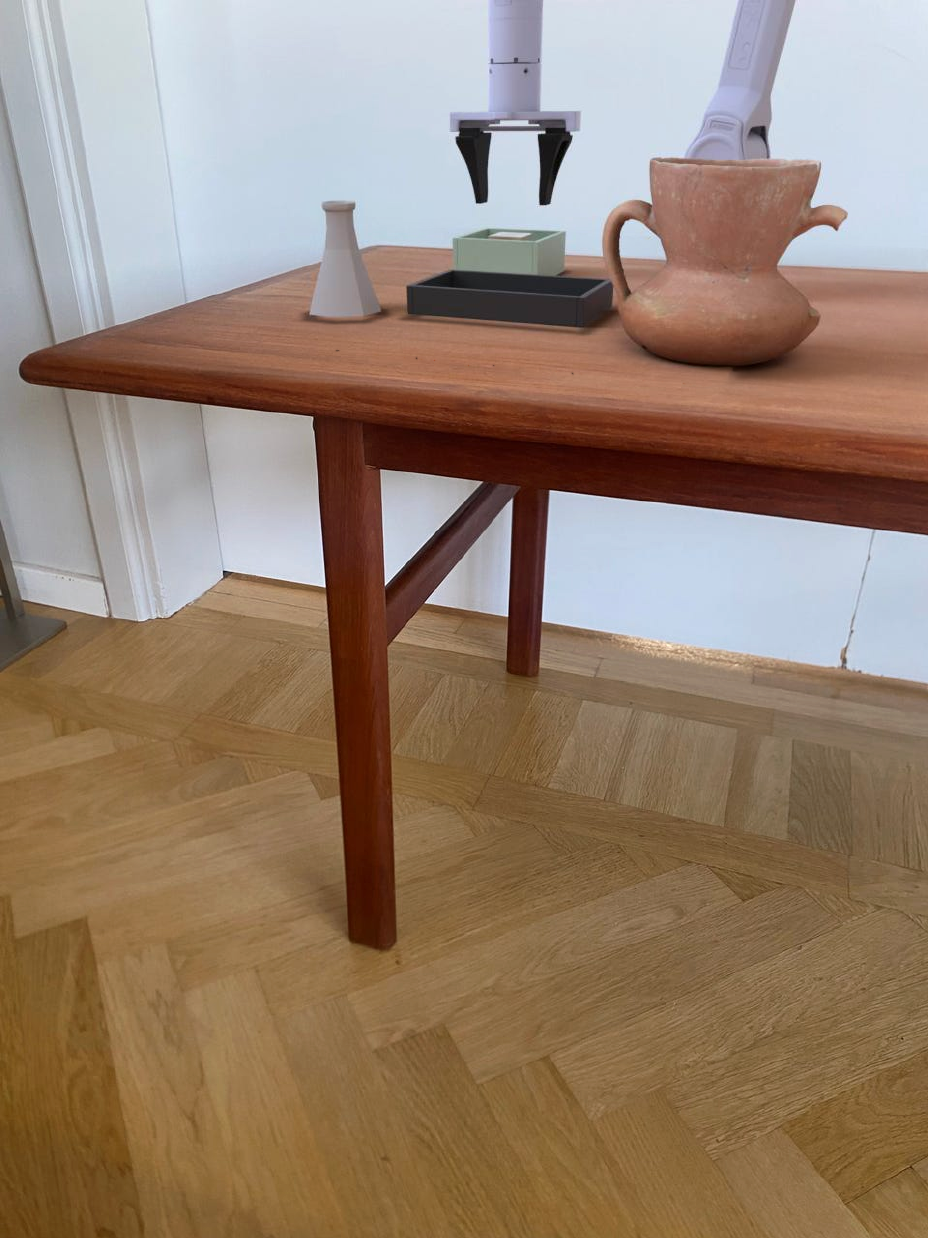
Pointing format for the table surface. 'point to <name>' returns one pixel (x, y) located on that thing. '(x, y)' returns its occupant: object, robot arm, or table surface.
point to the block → (511, 236)
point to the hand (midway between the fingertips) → (512, 203)
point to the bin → (510, 252)
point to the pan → (511, 297)
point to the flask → (342, 269)
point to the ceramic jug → (720, 259)
